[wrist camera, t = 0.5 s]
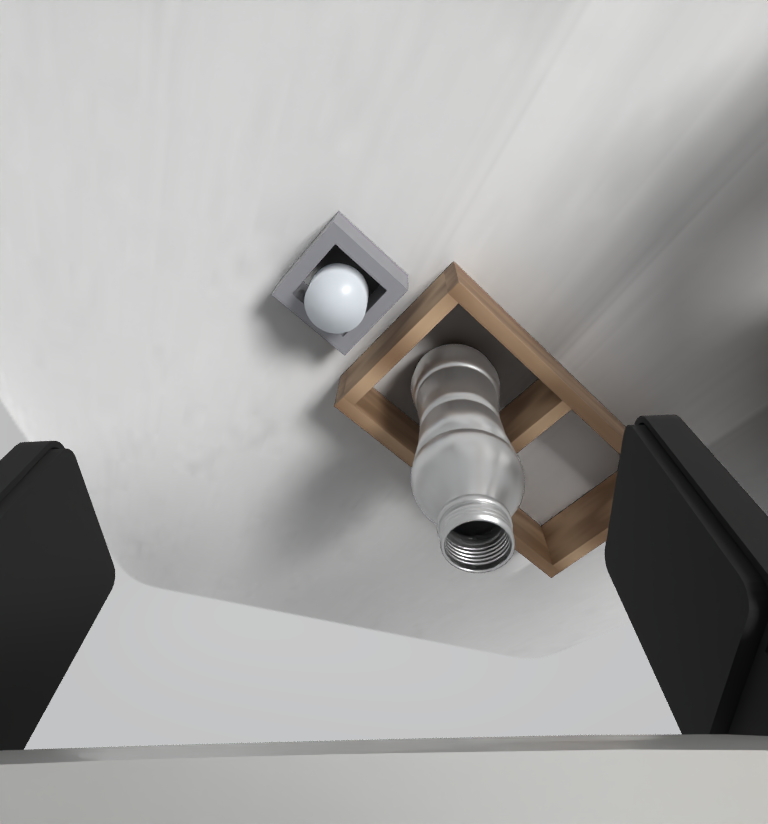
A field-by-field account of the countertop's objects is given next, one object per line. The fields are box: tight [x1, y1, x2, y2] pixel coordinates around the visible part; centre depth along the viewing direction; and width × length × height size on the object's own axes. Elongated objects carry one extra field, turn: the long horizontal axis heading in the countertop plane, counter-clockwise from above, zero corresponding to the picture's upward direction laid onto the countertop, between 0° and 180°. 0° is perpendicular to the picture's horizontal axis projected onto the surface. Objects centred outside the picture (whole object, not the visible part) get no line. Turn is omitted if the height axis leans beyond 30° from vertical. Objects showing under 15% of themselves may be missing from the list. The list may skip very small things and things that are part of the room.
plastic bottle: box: [411, 344, 525, 573], centre depth 38 cm, size 6×7×20 cm
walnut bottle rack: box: [334, 262, 626, 578], centre depth 47 cm, size 12×24×5 cm, turn 48°
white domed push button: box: [304, 263, 369, 334], centre depth 39 cm, size 4×4×2 cm
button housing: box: [271, 211, 408, 355], centre depth 42 cm, size 7×7×4 cm
